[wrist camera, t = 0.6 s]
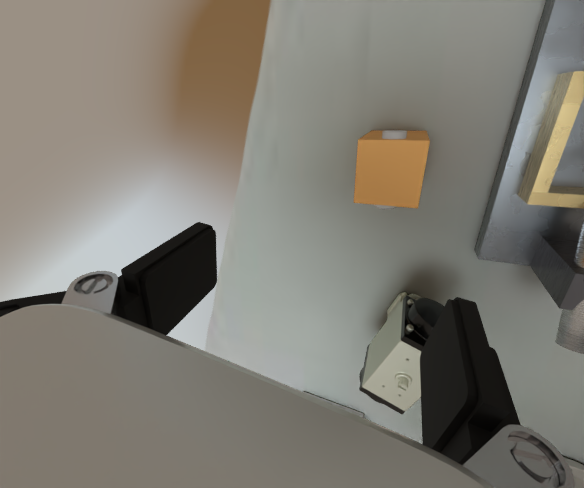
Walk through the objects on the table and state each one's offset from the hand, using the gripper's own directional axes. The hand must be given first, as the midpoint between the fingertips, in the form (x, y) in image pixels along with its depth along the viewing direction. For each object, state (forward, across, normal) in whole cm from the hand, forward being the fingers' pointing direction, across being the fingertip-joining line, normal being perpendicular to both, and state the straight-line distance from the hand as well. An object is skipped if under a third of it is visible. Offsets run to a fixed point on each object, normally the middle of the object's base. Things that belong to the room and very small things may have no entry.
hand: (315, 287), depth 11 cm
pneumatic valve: (+22, -9, +16) cm, 28 cm away
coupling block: (+22, -2, -1) cm, 22 cm away
